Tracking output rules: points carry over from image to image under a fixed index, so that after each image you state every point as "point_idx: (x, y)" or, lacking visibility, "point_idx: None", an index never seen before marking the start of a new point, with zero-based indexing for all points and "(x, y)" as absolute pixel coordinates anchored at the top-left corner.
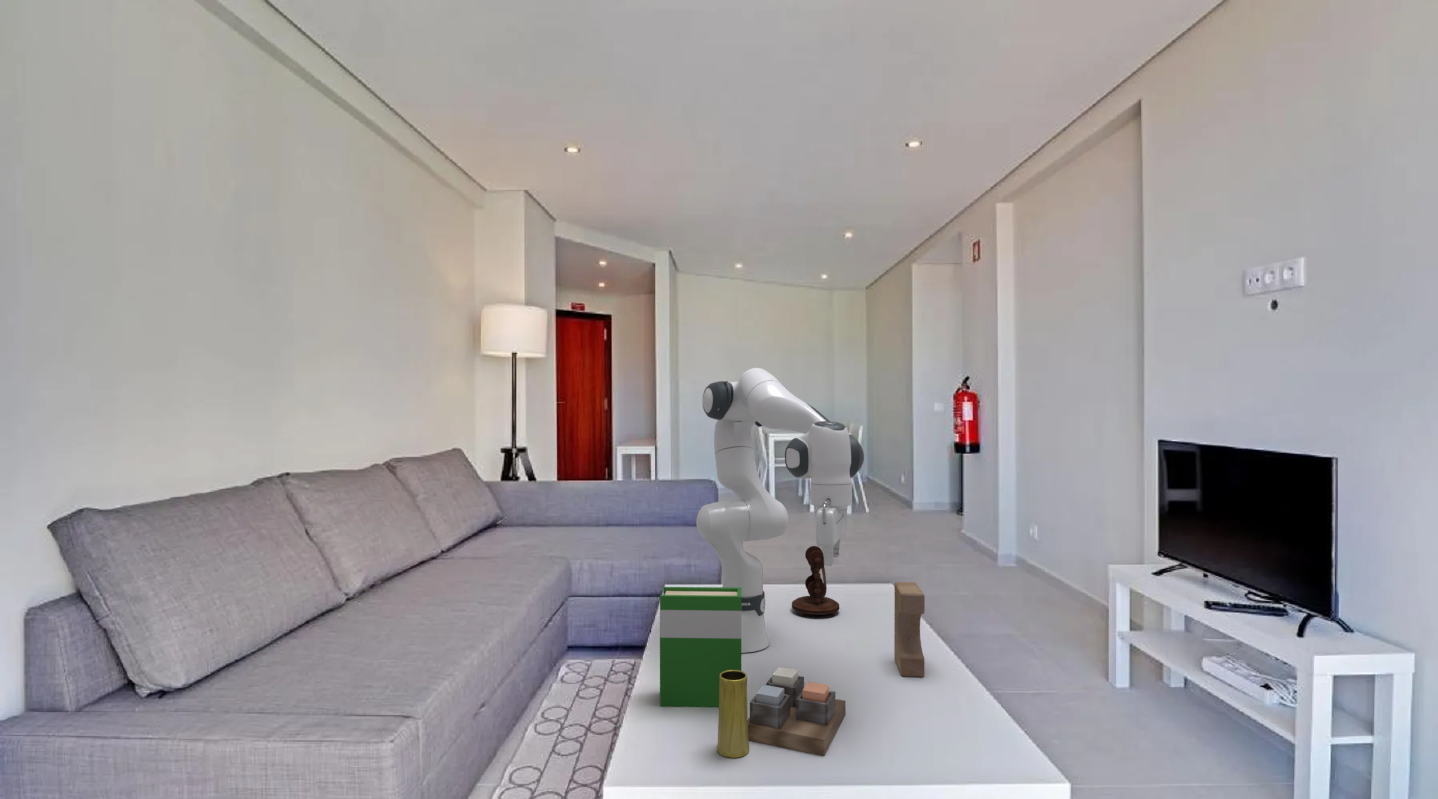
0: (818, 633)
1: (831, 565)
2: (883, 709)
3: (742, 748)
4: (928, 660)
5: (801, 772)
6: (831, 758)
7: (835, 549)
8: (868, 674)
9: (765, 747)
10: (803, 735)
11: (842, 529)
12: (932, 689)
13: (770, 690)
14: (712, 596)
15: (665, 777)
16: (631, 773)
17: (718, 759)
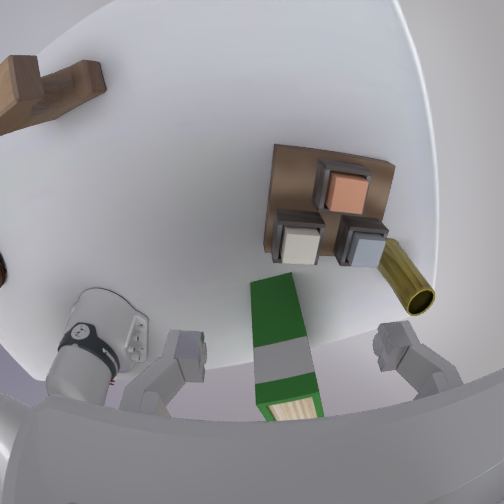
0: (29, 241)
1: (406, 322)
2: (236, 93)
3: (398, 245)
4: None
5: (417, 182)
6: (389, 153)
7: (198, 368)
8: (116, 138)
9: None
10: (389, 191)
11: (169, 456)
12: (137, 40)
13: (367, 253)
14: (322, 412)
15: None
16: None
17: None
